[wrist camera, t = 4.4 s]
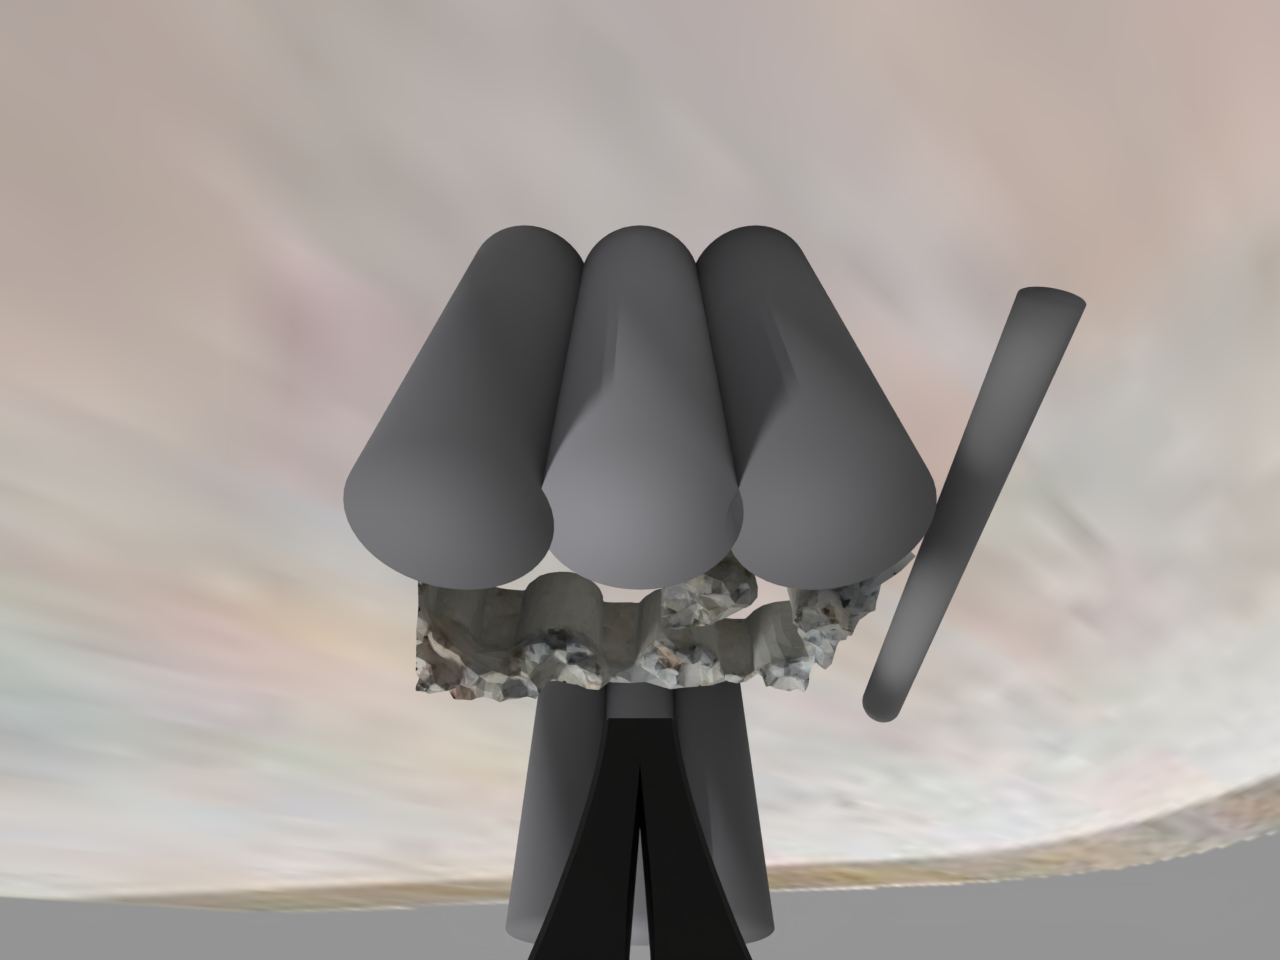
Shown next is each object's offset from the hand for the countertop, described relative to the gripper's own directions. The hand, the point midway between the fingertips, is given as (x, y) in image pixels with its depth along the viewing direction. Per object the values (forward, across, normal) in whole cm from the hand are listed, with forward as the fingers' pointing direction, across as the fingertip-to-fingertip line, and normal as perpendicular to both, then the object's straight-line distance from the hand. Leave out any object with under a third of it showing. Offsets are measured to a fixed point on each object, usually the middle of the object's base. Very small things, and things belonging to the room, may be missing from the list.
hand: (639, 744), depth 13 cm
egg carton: (+6, 0, +1) cm, 6 cm away
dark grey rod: (+6, +8, 0) cm, 10 cm away
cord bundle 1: (+6, 0, -7) cm, 9 cm away
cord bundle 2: (+6, 0, +7) cm, 9 cm away
